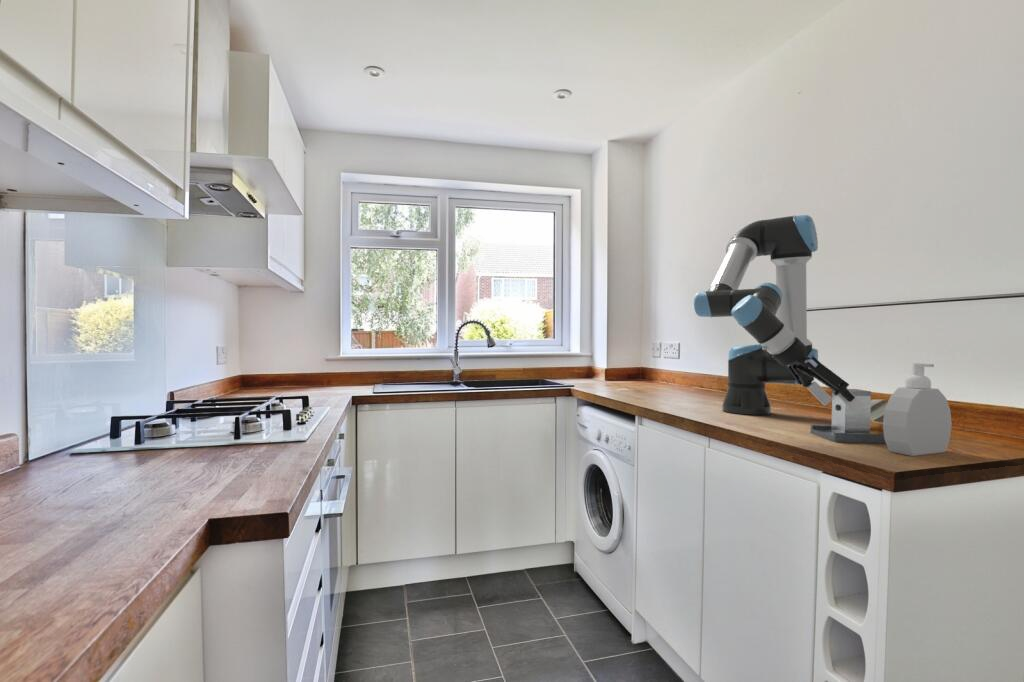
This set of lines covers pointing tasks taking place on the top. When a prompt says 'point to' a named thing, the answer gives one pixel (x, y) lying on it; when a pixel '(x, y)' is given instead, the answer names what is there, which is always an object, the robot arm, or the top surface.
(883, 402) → the gray slanted bracket
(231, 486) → the top surface
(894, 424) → the soap bottle
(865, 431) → the lock block
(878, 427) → the hitch plate
